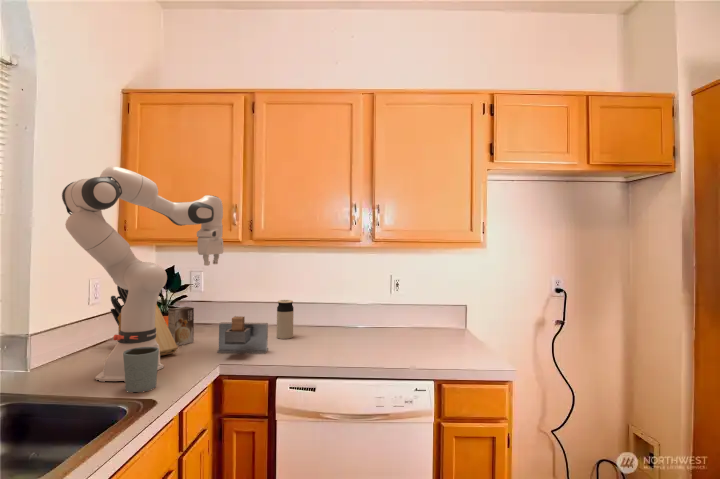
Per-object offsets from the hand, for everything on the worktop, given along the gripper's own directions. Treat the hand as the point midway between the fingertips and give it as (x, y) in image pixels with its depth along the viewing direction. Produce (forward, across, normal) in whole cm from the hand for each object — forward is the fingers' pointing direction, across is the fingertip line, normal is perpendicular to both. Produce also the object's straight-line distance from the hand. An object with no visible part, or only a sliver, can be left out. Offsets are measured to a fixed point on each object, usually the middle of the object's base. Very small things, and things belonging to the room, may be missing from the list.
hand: (211, 264), depth 175 cm
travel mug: (+37, -24, +28) cm, 52 cm away
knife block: (+37, +5, -27) cm, 46 cm away
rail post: (+30, +11, +16) cm, 35 cm away
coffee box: (+37, -9, -17) cm, 41 cm away
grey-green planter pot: (+37, +47, -4) cm, 60 cm away
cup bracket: (+36, +7, +16) cm, 40 cm away
